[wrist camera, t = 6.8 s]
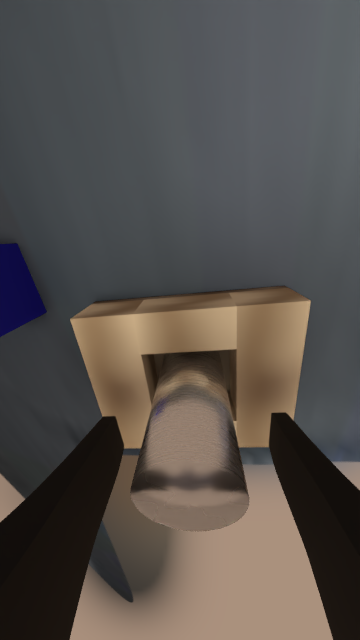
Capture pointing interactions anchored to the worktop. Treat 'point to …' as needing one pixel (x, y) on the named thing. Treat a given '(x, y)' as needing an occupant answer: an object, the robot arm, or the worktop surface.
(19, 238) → the worktop surface
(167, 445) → the pin
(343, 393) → the worktop surface
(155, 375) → the pocket block
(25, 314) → the blue curved cradle
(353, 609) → the robot arm
